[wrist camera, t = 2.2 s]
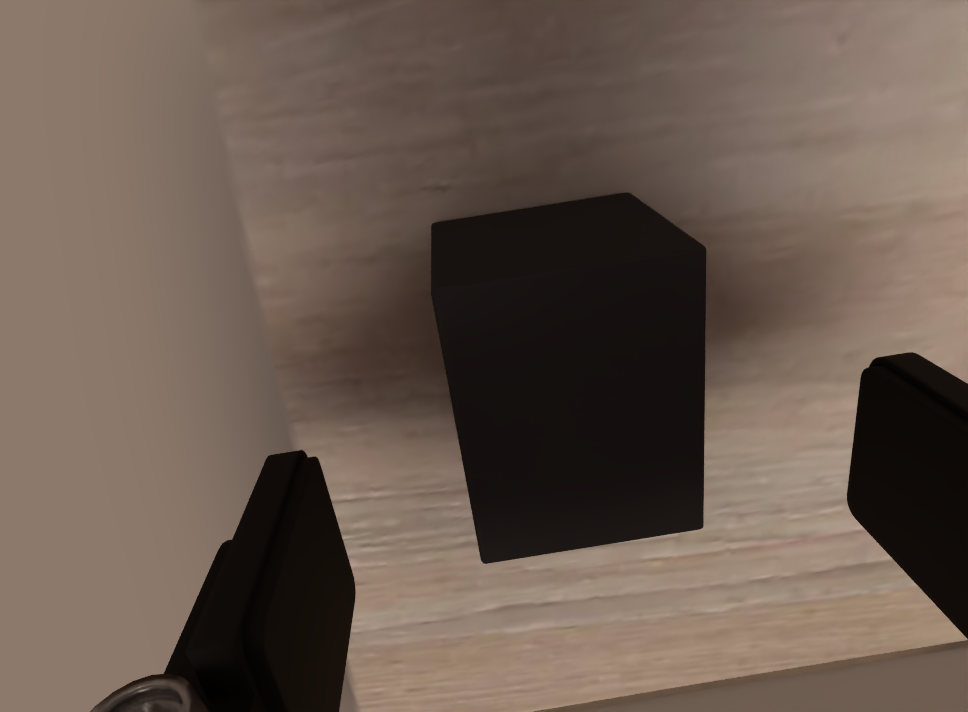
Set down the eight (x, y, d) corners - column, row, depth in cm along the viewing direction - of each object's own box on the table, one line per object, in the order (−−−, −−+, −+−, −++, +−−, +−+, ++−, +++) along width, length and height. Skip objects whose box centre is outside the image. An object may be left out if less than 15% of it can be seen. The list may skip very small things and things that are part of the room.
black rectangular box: (430, 222, 15) (430, 290, 10) (629, 190, 15) (708, 245, 11) (469, 442, 17) (482, 566, 13) (639, 415, 17) (704, 530, 13)
